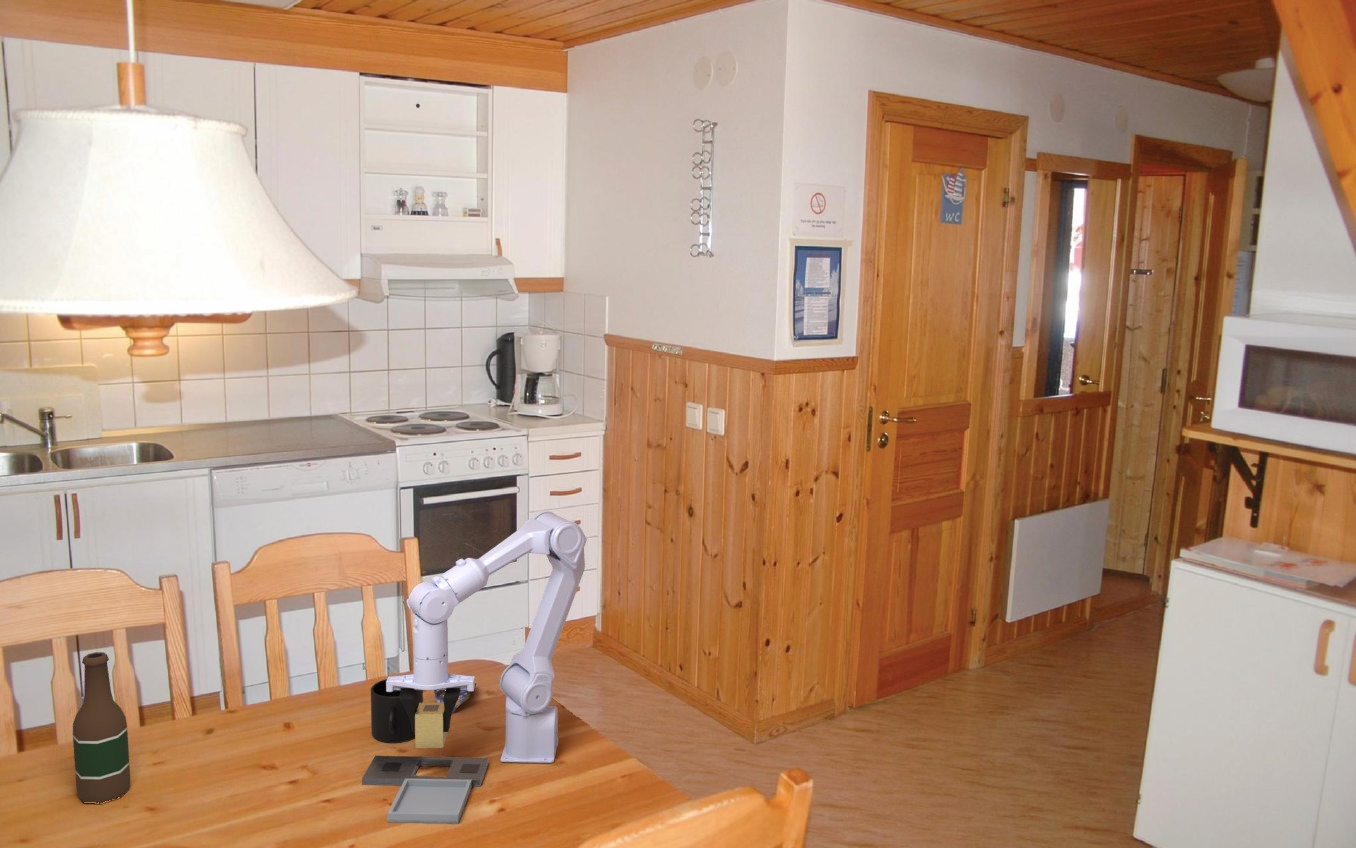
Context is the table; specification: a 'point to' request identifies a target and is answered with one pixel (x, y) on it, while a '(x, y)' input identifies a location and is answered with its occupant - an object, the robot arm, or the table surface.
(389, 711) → the mug
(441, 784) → the parts tray
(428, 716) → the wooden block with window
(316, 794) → the table surface
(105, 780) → the beer bottle
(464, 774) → the metal plate with cutout
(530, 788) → the table surface
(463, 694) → the snack package
